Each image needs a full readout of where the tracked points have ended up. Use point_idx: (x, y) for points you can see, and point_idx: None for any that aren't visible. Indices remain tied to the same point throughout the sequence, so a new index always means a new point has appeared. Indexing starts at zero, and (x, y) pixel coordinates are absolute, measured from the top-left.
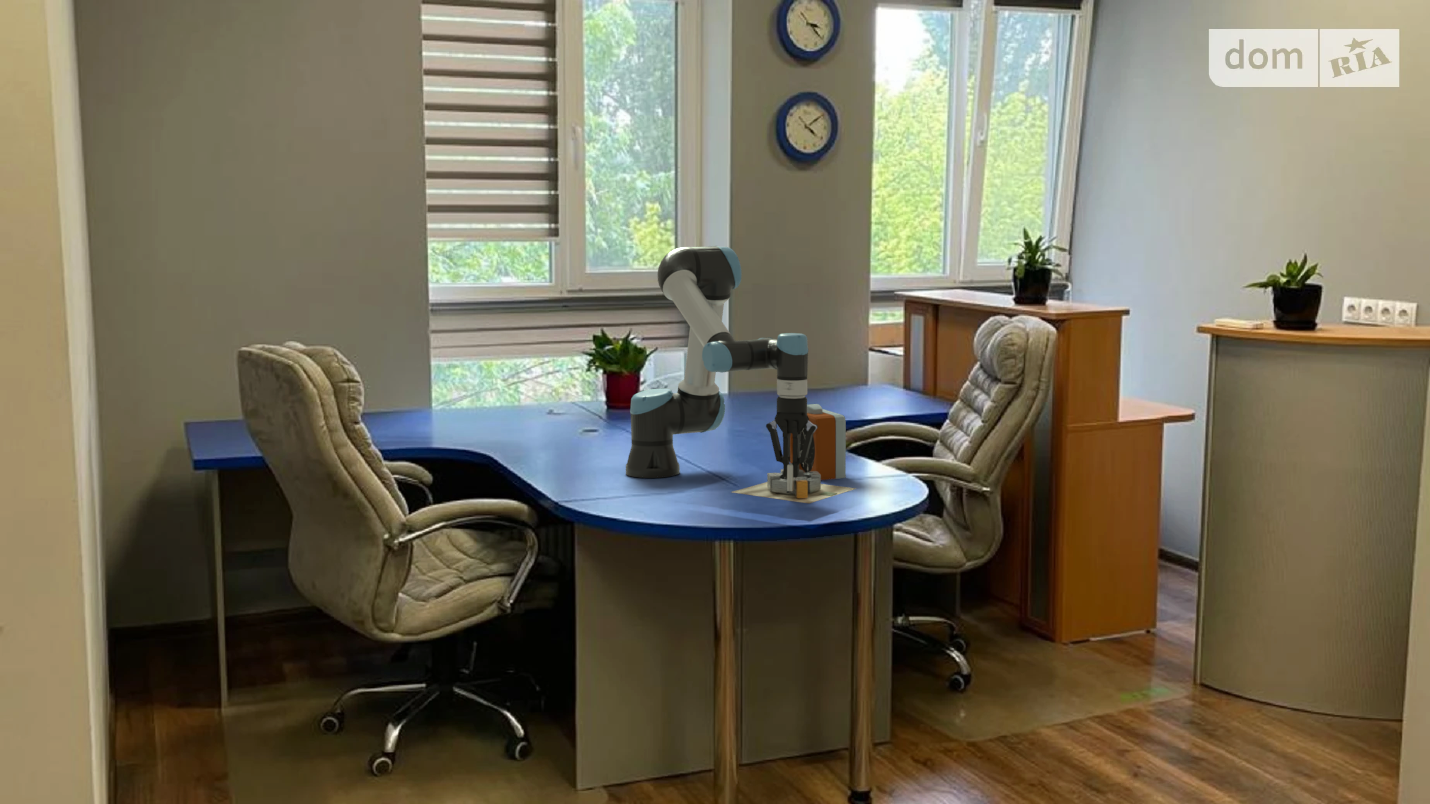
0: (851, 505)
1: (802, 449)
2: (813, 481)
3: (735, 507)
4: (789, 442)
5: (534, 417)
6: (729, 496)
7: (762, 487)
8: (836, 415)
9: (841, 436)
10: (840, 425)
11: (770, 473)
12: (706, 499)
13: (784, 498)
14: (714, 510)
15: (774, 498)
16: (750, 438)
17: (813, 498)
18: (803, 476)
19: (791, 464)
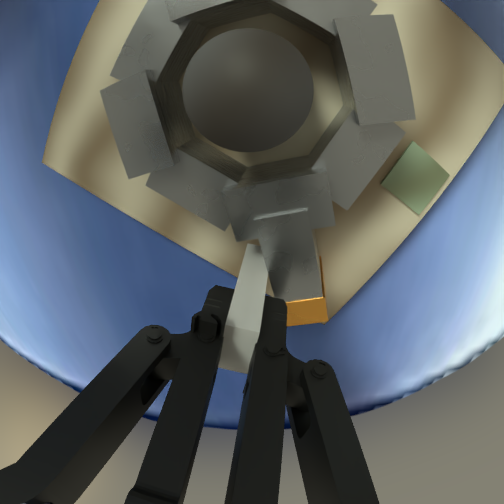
0: (461, 257)
1: (300, 464)
2: (366, 180)
3: (105, 281)
4: (190, 463)
5: None
6: (46, 134)
7: (117, 53)
8: None
9: None
10: None
11: (115, 100)
12: (16, 187)
13: (234, 256)
14: (77, 307)
15: (196, 254)
16: None
17: (347, 256)
18: (313, 173)
19: (238, 353)
